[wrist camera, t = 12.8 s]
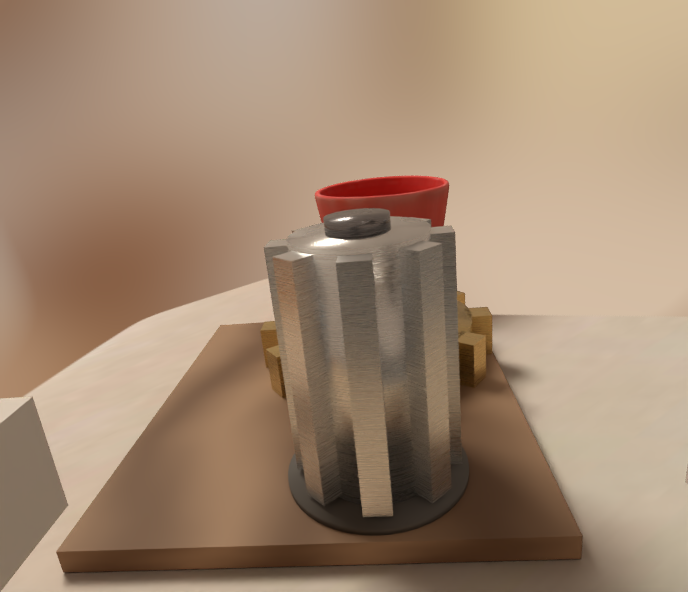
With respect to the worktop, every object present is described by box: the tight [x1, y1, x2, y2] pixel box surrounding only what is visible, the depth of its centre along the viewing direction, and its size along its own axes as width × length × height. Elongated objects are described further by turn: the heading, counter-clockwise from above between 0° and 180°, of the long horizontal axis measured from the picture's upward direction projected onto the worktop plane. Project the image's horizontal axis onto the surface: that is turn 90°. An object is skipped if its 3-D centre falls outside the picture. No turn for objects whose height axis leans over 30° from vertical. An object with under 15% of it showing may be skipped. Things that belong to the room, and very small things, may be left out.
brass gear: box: [260, 291, 492, 398], centre depth 32 cm, size 14×14×4 cm
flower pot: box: [315, 176, 449, 227], centre depth 45 cm, size 11×11×10 cm
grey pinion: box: [264, 208, 462, 517], centre depth 21 cm, size 7×7×11 cm
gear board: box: [56, 322, 583, 572], centre depth 29 cm, size 19×22×1 cm
